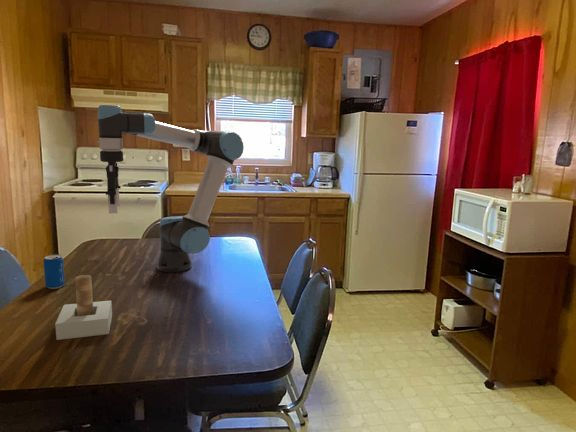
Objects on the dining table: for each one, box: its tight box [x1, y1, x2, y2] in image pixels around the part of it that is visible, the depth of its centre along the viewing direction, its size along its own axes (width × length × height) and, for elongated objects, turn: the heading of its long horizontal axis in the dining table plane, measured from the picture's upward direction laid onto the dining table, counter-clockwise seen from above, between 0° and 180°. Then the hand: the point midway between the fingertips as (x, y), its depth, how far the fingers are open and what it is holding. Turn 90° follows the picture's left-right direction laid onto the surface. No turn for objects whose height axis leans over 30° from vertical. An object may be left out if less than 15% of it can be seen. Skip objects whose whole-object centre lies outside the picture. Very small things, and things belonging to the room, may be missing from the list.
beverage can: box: [43, 254, 66, 290], centre depth 159 cm, size 6×6×12 cm
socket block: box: [54, 300, 113, 341], centre depth 129 cm, size 14×14×5 cm
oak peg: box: [74, 274, 94, 316], centre depth 128 cm, size 4×4×16 cm
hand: (114, 209), depth 151 cm, fingers open, 13 cm apart
